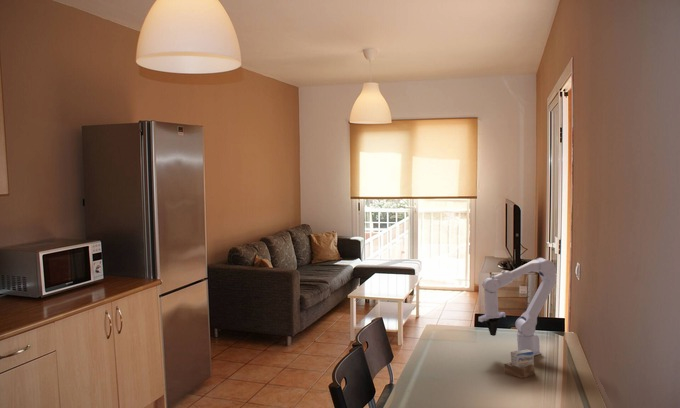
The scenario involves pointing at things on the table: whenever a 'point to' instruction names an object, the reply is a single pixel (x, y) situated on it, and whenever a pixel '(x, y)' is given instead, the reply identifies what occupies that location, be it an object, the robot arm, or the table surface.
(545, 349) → the table surface
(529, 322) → the robot arm
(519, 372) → the open wooden box
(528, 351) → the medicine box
